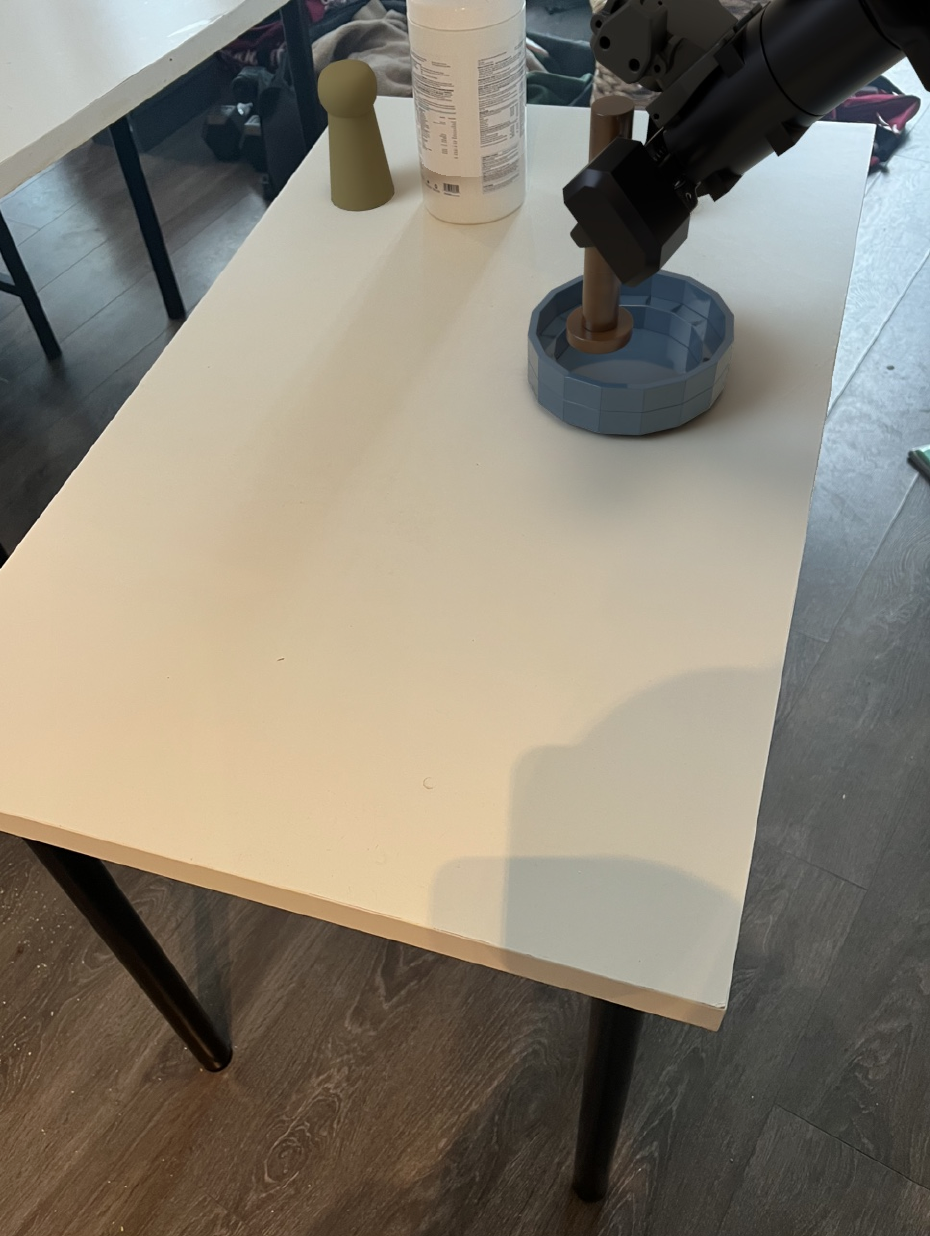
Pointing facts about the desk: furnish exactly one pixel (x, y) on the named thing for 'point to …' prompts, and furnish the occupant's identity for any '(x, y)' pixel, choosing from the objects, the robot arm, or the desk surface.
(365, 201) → the olive pawn
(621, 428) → the bowl
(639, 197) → the robot arm
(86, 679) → the desk surface
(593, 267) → the brown cylinder with base
